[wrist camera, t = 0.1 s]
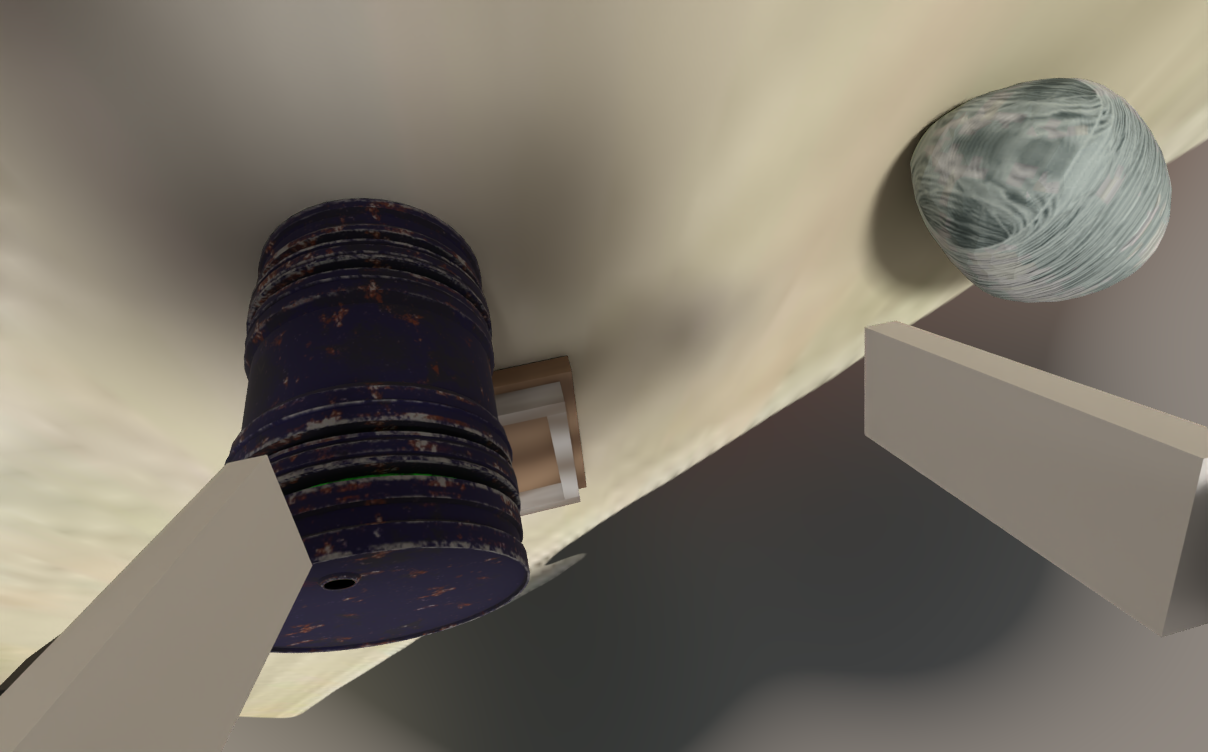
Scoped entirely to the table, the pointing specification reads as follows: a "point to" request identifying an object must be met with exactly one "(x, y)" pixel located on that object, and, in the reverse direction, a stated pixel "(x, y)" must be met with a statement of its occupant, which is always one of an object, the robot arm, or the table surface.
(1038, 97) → the spool
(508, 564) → the rusty blue barrel
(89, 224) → the table surface
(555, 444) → the cradle plate
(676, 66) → the table surface
